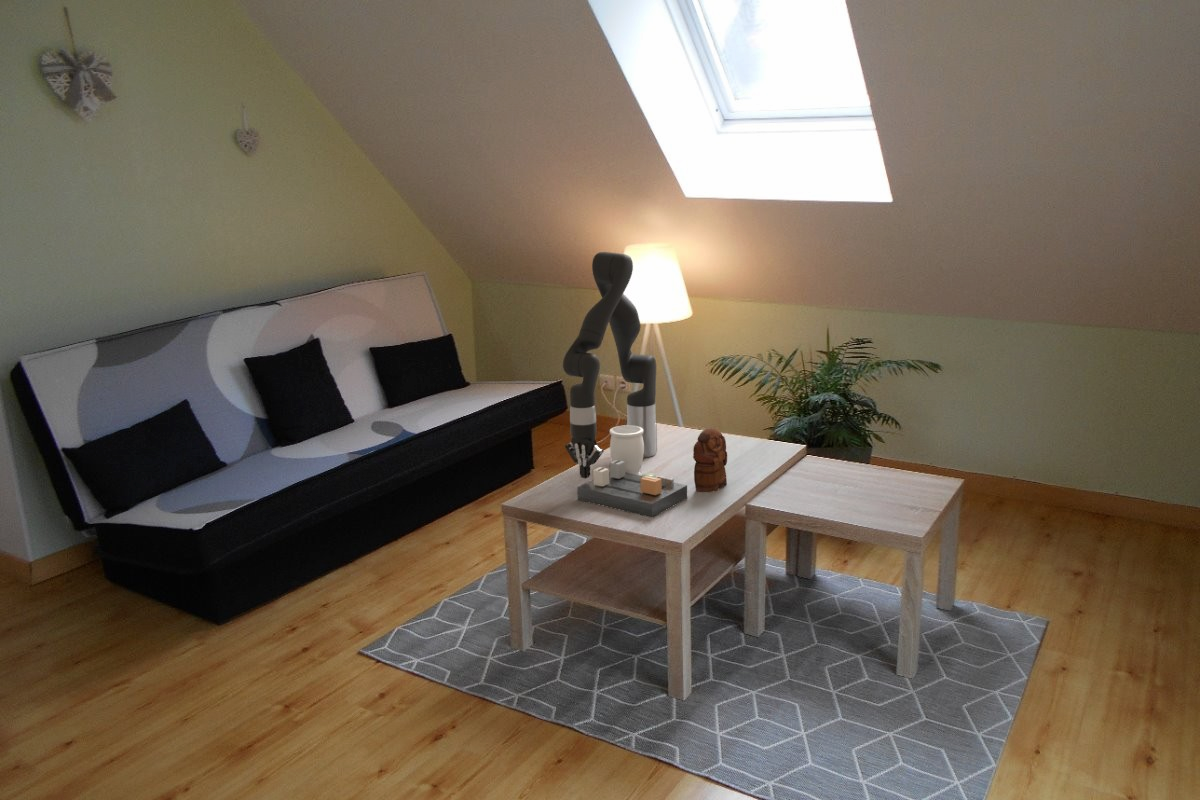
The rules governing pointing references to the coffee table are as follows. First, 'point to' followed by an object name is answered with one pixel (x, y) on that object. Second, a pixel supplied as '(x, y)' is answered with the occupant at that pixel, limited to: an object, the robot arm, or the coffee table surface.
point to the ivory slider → (601, 476)
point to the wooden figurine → (710, 461)
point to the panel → (633, 495)
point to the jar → (627, 447)
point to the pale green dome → (649, 475)
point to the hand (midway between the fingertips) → (585, 477)
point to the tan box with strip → (651, 485)
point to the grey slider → (617, 469)
